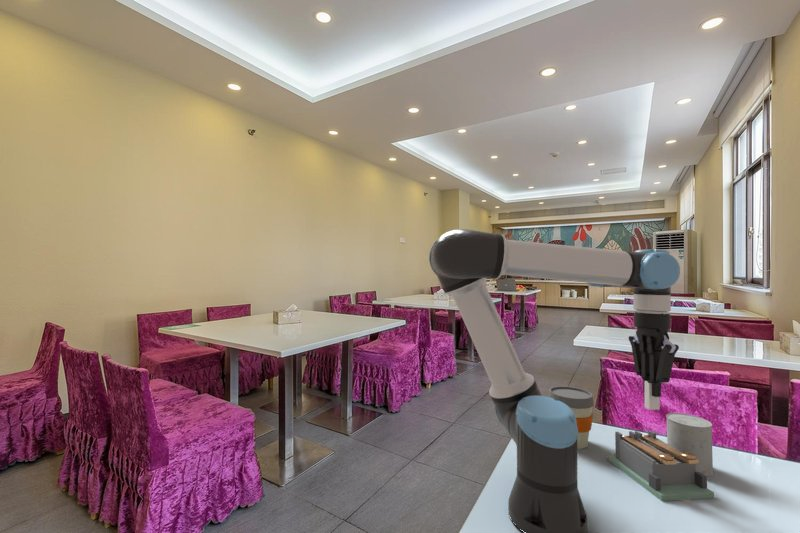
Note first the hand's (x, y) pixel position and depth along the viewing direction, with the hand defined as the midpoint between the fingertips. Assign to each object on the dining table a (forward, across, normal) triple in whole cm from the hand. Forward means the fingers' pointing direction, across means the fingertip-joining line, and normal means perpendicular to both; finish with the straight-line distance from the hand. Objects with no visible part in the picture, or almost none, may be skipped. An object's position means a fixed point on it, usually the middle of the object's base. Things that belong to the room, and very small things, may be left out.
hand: (652, 408), depth 86 cm
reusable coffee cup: (+19, +23, +7) cm, 30 cm away
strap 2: (+12, +3, -6) cm, 13 cm away
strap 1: (+12, +3, -1) cm, 12 cm away
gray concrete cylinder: (+18, +7, -17) cm, 26 cm away
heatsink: (+18, +3, -3) cm, 19 cm away
